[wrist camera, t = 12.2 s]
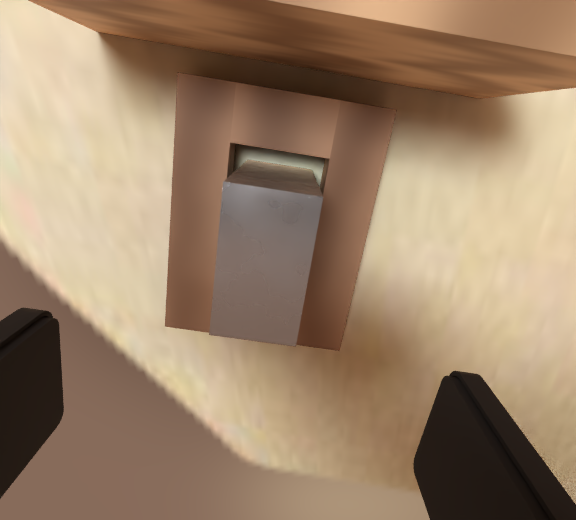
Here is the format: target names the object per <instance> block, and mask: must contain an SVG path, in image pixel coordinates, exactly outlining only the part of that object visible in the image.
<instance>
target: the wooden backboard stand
mask: <svg viewBox="0 0 576 520" xmlns="http://www.w3.org/2000/svg"><path fill="white" fill-rule="evenodd" d="M29 1H31V2H33V3H35V4H38V5H40V6H42V7H44V8H46V9H48V10H51V11H53V12H55V13H57V14H59V15H62V16H64V17H66V18H68V19H70V20H72V21H75V22H77V23H79V24H81V25H83V26H86V27H88V28H90V29H92V30H94V31H96V32H101V33H107V34H113V35H119V36H124V37H130V38H136V39H142V40H147V41H153V42H159V43H165V44H170V45H176V46H182V47H187V48H193V49H199V50H205V51H210V52H216V53H222V54H228V55H233V56H239V57H245V58H250V59H256V60H262V61H268V62H273V63H279V64H285V65H291V66H296V67H302V68H308V69H314V70H319V71H325V72H331V73H336V74H342V75H348V76H354V77H359V78H365V79H371V80H377V81H382V82H388V83H394V84H399V85H405V86H411V87H417V88H422V89H428V90H434V91H440V92H445V93H451V94H457V95H463V96H468V97H474V98H480V99H481V98H490V97H498V96H507V95H516V94H524V93H533V92H541V91H550V90H559V89H567V88H576V0H29ZM396 112H397V110H395V109H389V108H383V107H378V106H372V105H366V104H360V103H354V102H348V101H342V100H337V99H331V98H325V97H319V96H313V95H307V94H302V93H296V92H290V91H284V90H278V89H272V88H267V87H261V86H255V85H249V84H243V83H237V82H231V81H226V80H220V79H214V78H208V77H202V76H196V75H191V74H185V73H179V72H178V78H177V98H176V118H175V138H174V157H173V177H172V197H171V217H170V237H169V257H168V277H167V297H166V317H165V326H166V327H173V328H180V329H187V330H194V331H201V332H209V331H210V320H211V309H212V298H213V287H214V276H215V265H216V254H217V243H218V232H219V221H220V210H221V199H222V188H223V181H224V180H225V179H227V178H228V177H229V176H230V175H231V174H232V173H233V168H234V158H235V149H236V144H242V145H249V146H255V147H261V148H267V149H273V150H279V151H285V152H291V153H298V154H304V155H310V156H316V157H322V158H325V162H324V168H323V173H322V178H321V184H320V190H321V192H322V195H323V202H322V207H321V213H320V218H319V223H318V229H317V234H316V240H315V245H314V250H313V256H312V261H311V267H310V272H309V278H308V283H307V288H306V294H305V299H304V305H303V310H302V315H301V321H300V326H299V332H298V337H297V342H296V345H302V346H309V347H316V348H323V349H331V350H338V351H339V350H340V346H341V342H342V337H343V333H344V329H345V325H346V321H347V317H348V312H349V308H350V304H351V300H352V296H353V291H354V287H355V283H356V279H357V275H358V271H359V266H360V262H361V258H362V254H363V250H364V245H365V241H366V237H367V233H368V229H369V225H370V220H371V216H372V212H373V208H374V204H375V200H376V195H377V191H378V187H379V183H380V179H381V174H382V170H383V166H384V162H385V158H386V154H387V149H388V145H389V141H390V137H391V133H392V128H393V124H394V120H395V116H396Z"/></svg>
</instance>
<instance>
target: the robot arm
mask: <svg viewBox="0 0 576 520" xmlns="http://www.w3.org/2000/svg"><path fill="white" fill-rule="evenodd" d="M62 389H63V388H62V370H61V352H60V334H59V322H58V320H57V319H55V318H53V316H52V314H51V313H50V312H49V311H43V310H36V309H30V308H21V309H18V310H16V311H15V312H13V313H12V314H11V315H9V316H7V317H6V318H4V319H3V320H1V321H0V498H1V496H3V494H4V493H5V492H6V490H7V489H8V488H9V487H10V485H11V484H12V483H13V482H14V480H15V479H16V478H17V477H18V475H19V474H20V473H21V472H22V470H23V469H24V468H25V467H26V465H27V464H28V463H29V461H30V460H31V459H32V458H33V456H34V455H35V454H36V452H37V451H38V450H39V448H41V446H42V445H43V444H44V443H45V441H46V440H47V439H48V437H49V436H50V435H51V434H52V432H53V431H54V430H55V429H56V427H57V426H58V424H59V423H60V421H61V419H62V416H63V410H64V409H63V408H64V406H63V390H62ZM414 473H415V477H416V479H417V482H418V485H419V488H420V491H421V494H422V497H423V500H424V502H425V506H426V508H427V512H428V515H429V518H430V520H576V504H575V503H574V502H573V500H572V499H571V498H570V496H569V495H568V494H567V492H566V491H565V489H564V488H563V487H562V485H561V484H560V483H559V481H558V480H557V479H556V477H555V476H554V475H553V473H552V472H551V470H550V469H549V468H548V466H547V465H546V464H545V462H544V461H543V460H542V458H541V457H540V456H539V454H538V453H537V451H536V450H535V449H534V447H533V446H532V445H531V443H530V442H529V441H528V439H527V438H526V437H525V435H524V434H523V432H522V431H521V430H520V428H519V427H518V426H517V424H516V423H515V422H514V420H513V419H512V418H511V416H510V415H509V413H508V412H507V411H506V409H505V408H504V407H503V405H502V404H501V403H500V401H499V400H498V399H497V397H496V396H495V395H494V393H493V392H492V390H491V389H490V388H489V386H488V385H487V384H486V382H485V381H484V380H483V378H482V377H481V376H480V375H478V374H473V373H467V372H460V371H453V372H452V373H451V374H450V375H449V376H445V377H444V378H443V379H442V381H441V384H440V387H439V390H438V393H437V396H436V398H435V401H434V404H433V407H432V410H431V412H430V415H429V418H428V421H427V424H426V426H425V429H424V432H423V435H422V438H421V441H420V443H419V446H418V449H417V452H416V455H415V458H414Z"/></svg>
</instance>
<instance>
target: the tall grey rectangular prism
mask: <svg viewBox="0 0 576 520" xmlns="http://www.w3.org/2000/svg"><path fill="white" fill-rule="evenodd" d="M322 202H323V195H322V192H321V190H320V188H319V185H318V183H317V181H316V178H315V176H314V174H313V171H312V170H311V169H305V168H298V167H292V166H286V165H279V164H273V163H266V162H260V161H254V160H247V161H246V162H244V163H243V164H242V165H241V166H240V167H239V168H238V169H237V170H235V171H234V172H233V173H232V174H231V175H230V176H229V177H228V178H227V179H225V180H224V181H223V188H222V199H221V210H220V221H219V232H218V243H217V254H216V265H215V276H214V287H213V298H212V309H211V320H210V331H209V335H214V336H222V337H229V338H237V339H244V340H252V341H259V342H266V343H274V344H281V345H289V346H296V342H297V337H298V332H299V326H300V321H301V315H302V310H303V305H304V299H305V294H306V288H307V283H308V278H309V272H310V267H311V261H312V256H313V250H314V245H315V240H316V234H317V229H318V223H319V218H320V213H321V207H322Z"/></svg>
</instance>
